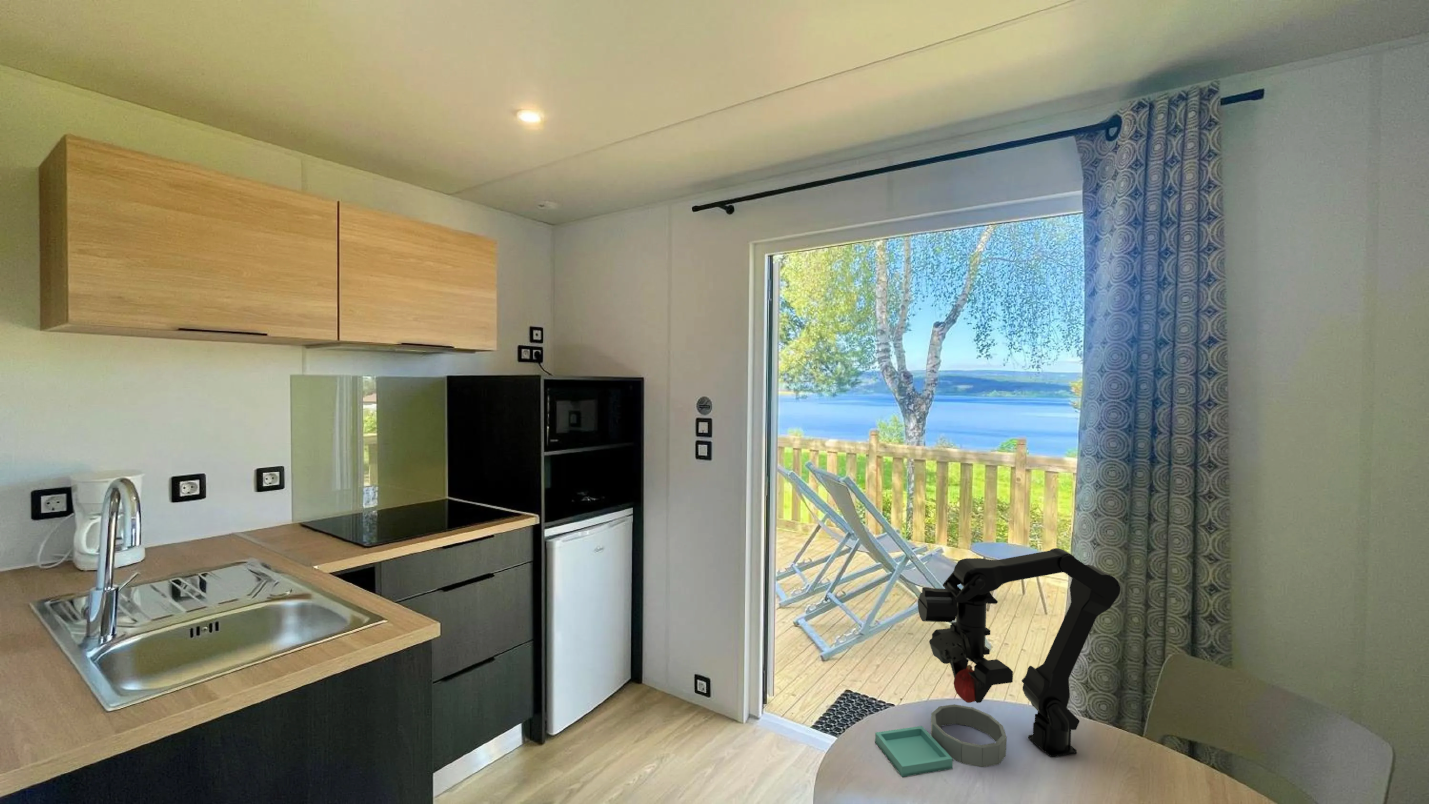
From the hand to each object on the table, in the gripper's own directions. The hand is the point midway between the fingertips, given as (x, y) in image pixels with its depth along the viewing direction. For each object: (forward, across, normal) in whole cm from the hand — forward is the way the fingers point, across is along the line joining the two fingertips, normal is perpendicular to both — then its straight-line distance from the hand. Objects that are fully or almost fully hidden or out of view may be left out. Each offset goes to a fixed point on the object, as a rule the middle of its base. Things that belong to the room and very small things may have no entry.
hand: (968, 693), depth 119 cm
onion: (+2, 0, 0) cm, 2 cm away
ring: (+11, 0, 0) cm, 11 cm away
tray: (+11, +1, -14) cm, 17 cm away
